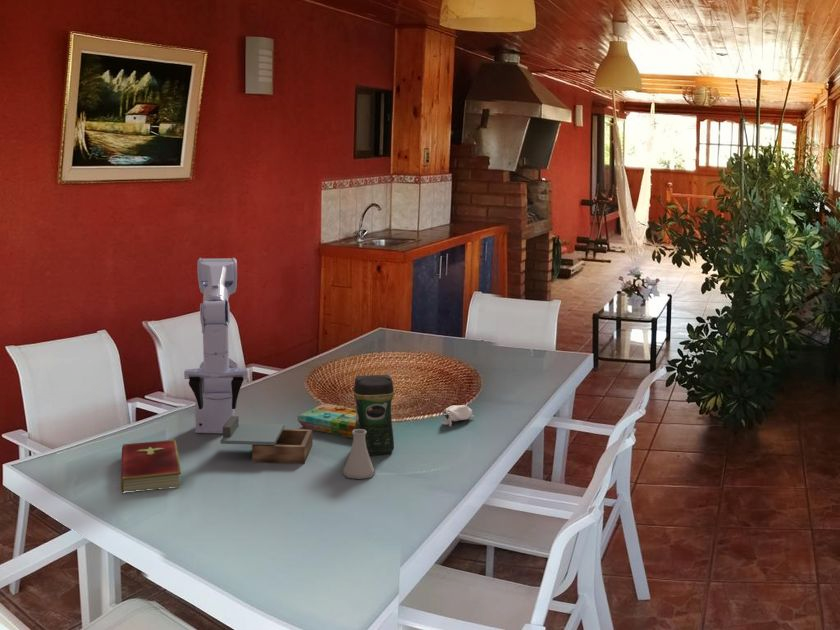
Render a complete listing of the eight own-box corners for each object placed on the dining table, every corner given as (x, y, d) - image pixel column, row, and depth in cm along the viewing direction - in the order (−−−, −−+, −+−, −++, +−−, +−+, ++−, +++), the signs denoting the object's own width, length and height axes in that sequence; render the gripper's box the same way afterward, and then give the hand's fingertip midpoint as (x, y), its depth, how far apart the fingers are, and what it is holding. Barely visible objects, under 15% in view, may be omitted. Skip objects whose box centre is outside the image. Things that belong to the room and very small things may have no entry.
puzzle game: (323, 400, 229) (388, 412, 220) (323, 417, 230) (388, 429, 221) (297, 412, 219) (364, 425, 210) (297, 429, 220) (364, 443, 211)
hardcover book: (121, 496, 178) (120, 477, 177) (122, 460, 197) (121, 443, 197) (181, 490, 182) (180, 471, 181) (176, 455, 201) (175, 438, 200)
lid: (220, 443, 196) (220, 430, 195) (233, 425, 208) (233, 413, 207) (274, 445, 196) (274, 431, 195) (284, 427, 208) (284, 414, 207)
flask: (342, 467, 194) (343, 425, 192) (374, 467, 195) (375, 425, 193) (342, 480, 187) (342, 436, 185) (375, 480, 188) (376, 436, 186)
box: (252, 462, 197) (252, 445, 196) (263, 443, 208) (262, 428, 208) (304, 463, 196) (304, 447, 196) (312, 445, 208) (312, 429, 207)
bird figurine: (459, 433, 223) (477, 415, 231) (452, 410, 221) (470, 392, 229) (443, 433, 226) (461, 414, 234) (436, 410, 224) (455, 392, 232)
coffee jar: (390, 443, 211) (391, 370, 207) (396, 455, 203) (397, 379, 199) (351, 445, 209) (351, 371, 205) (355, 457, 201) (355, 380, 197)
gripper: (180, 355, 195) (182, 413, 197) (245, 355, 196) (246, 412, 198) (186, 348, 202) (188, 404, 204) (249, 348, 203) (250, 403, 205)
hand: (217, 407), depth 202 cm, fingers open, 7 cm apart
